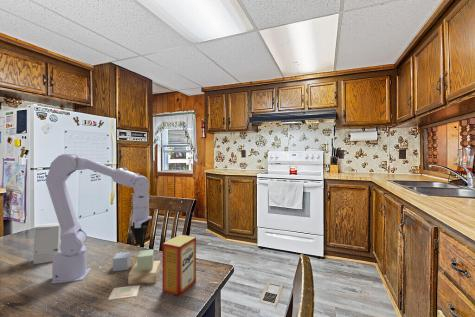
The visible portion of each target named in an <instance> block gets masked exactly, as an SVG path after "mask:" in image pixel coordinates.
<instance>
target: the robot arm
mask: <svg viewBox="0 0 475 317" xmlns="http://www.w3.org/2000/svg"><path fill="white" fill-rule="evenodd" d="M81 170H82V171H83V170H90V171H92V172H96V173H99V174H102V175H103V176H107V177H110V178H112V179H111V180H112V181H113V182H115V183H116V184H120V185H122V186H125V187H128V188H133V195H132V196H133V198H132V200H133V201H132V203H133V204H132V208H133V211H132V221H133V223H134V225H131V226H130V231H131V232H132V234H133V237H134V242H135V244H136V246H137V245H142V244H143V242H144V238H146V236H147V231H148V227H149V223H150V221H151V220H152V219H153V217H152V215H151V216H149V215H150V210H149V209H150V203H149V202H150V199H149V198H150V194H149V192H150V191H149V188H150V181H149V180H148V178H147V177H146V176H144V175H143V174H142V175H141V174H140V173H138V172H137V173H135V172H132V171H130V170H128V168H127V167H123V168H122V167H118V168H116V169H115V168H113V167H111V166H109V165H105V164H103V163H101V162H99V161H96V160H94V159H91V158H89V157H84V156H81V155H80V156H79V155H78V154H75V153H69V154H66V153H64V154H60V155H57V157H55V158H54V160H52V162H51V163H50V168H49V171H48V173H47V176H46V179H45V184H46V186H47V190H48V193H49V196H50V199H51V202H52V205H53V209H54V212H55V215H56V218H57V223H59V225H60V228H61V233H60V239H61V245H60V250H61V252H62V253H57V254H56V255H55V257H54V259H53V262H52V269H51V270H52V272H51V273H52V275H51V276H52V281H51V282H50V284H59V283H69V282H78V281H83V280H84V279H85V278H86V276H88V273H89V272H90V271H91V268H90V267H89V268H87V247H86V246H85V243H86V241H87V239H88V235H87V233H86V232H85V231H84V230H83V228H82V226H81V225H80V223H79V222H78V219H77V217H76V214H75V210H74V207H73V202H72V200H71V196H70V194H69V190H68V187H67V183H66V181H67V180H68V178H69V177H71V175H72V174H73V173H75V172H76V171H81Z"/></svg>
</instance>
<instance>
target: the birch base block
mask: <svg viewBox="0 0 475 317" xmlns="http://www.w3.org/2000/svg"><path fill="white" fill-rule="evenodd" d="M161 270H162V262H161V260H154V263H153V269H150V270H142V271H137V261H136V262H135V263H134V265H133V266H132V267H131V269H130V271H129V273H128V279H127V280H128V282H127V283H128V285H136V284H137V285H138V284H139V285H140V284H152V283H157V282H158V281H157V280H158V279H159V275H160V272H161Z"/></svg>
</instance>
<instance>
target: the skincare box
mask: <svg viewBox="0 0 475 317" xmlns="http://www.w3.org/2000/svg"><path fill="white" fill-rule="evenodd" d="M60 233H61V228H60V225H59V222H48V223H47V222H46V223H39V224H38V225H36V226H35V227H34V238H33V239H34V241H33V261H32V262H33V265H38V264H44V263H51V262H52V263H53V259H54V257H55V255H56V254H57V253H62V252H61V250H60V245H61V239H60Z"/></svg>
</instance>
